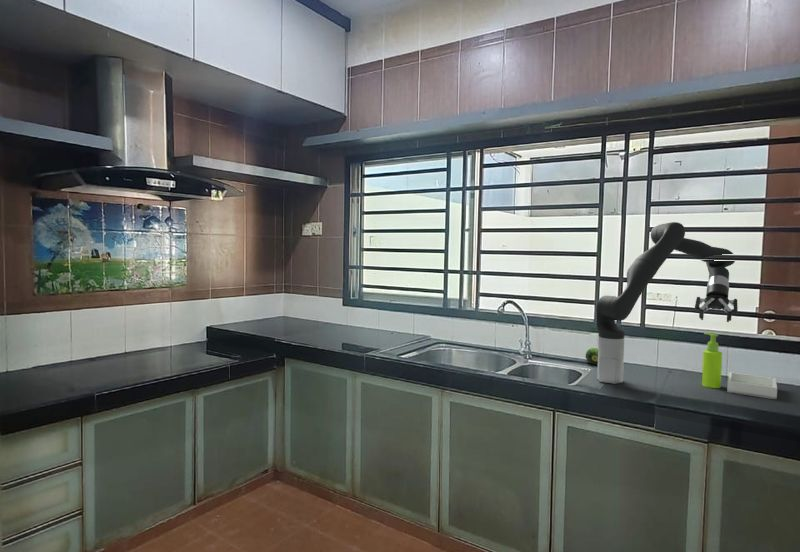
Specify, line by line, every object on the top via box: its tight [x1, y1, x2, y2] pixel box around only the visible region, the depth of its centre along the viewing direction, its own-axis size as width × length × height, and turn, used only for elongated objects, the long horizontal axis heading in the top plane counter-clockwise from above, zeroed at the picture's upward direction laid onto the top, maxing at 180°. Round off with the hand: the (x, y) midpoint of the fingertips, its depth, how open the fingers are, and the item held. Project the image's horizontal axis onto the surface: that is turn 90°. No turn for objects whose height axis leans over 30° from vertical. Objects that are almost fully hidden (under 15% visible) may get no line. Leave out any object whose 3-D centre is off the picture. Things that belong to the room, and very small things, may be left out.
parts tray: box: [726, 371, 778, 400], centre depth 172 cm, size 16×14×4 cm
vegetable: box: [585, 347, 598, 366], centre depth 217 cm, size 7×7×20 cm
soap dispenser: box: [701, 332, 723, 389], centre depth 178 cm, size 6×7×20 cm
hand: (714, 319), depth 186 cm, fingers open, 8 cm apart
